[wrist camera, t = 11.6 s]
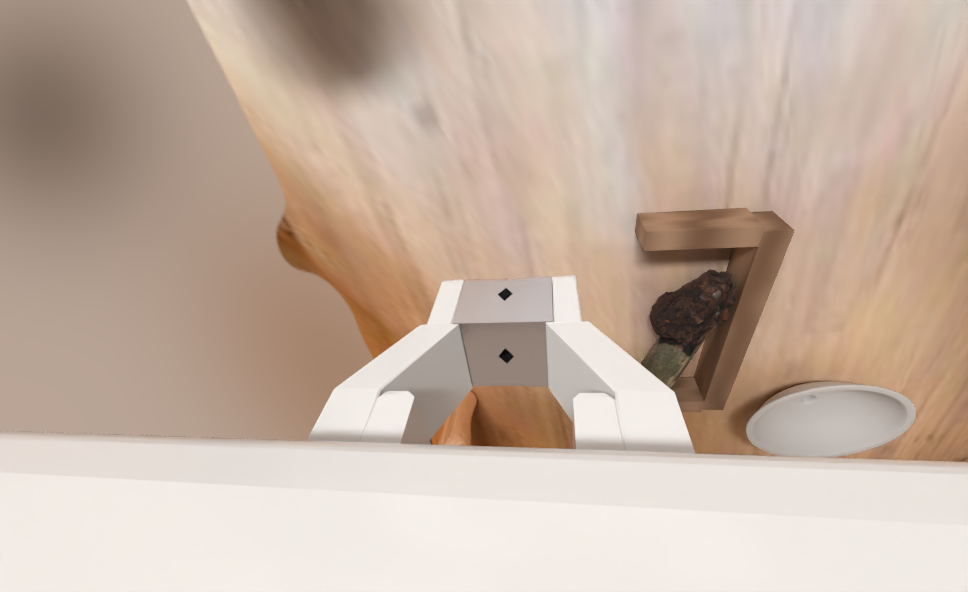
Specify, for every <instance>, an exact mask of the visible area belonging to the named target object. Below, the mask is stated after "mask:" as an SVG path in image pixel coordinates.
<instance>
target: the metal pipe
mask: <svg viewBox="0 0 968 592" xmlns="http://www.w3.org/2000/svg"><path fill="white" fill-rule="evenodd" d="M731 276H732V274H731V273H728V272H720V273H718V272H716V271H715V270H708V271H707V272H705V273H703V274H702V275H701V276H700V277H699V278H697V279H695V280H693V281H692V282H690V283H687V284H685V285H684V286H682V287H681V288H680V289H679V290H677V291H675V292H670V293H668V292H666V293H664V294H663V295H662V296H660V297H659V298H658V300H657V303H655V304H654V305H653V307H652V311H651V314H650V320H651V323H652V326H653V328H654V330H655V332H656V333H657V334H659V335H661V337H660V338H659V339H658V341H657V343H656V344H655V346H654V347H653V348H652V350H651V351H650V353H649V354H648V355H647V357H646V358H645V360H644V361H643V363H642V364H641V365H642V366H643V367H645V368H646V369H647V370H648V371H649V372H651V373H652V374H653V375H654V376H655V377H657V378H658V379H659V380H660V381H661V382H663V383H664V384H665V385H666V386H668V387H669V388H670V389H671V388H672V387H673V385H674V384H675V382H676V381H677V379H678V378H679V376H680V375H681V374H682V372H683V371H684V369H685V367H686V366H687V365H688V363H689V362H690V360H691V359H692V357H693V356H694V354H695V353H696V351H697V350H698V349H699V347H700V346H701V344H702V343H703V341H704V340H705V338H706V337H707V336H708V335H710V334H711V333H712V332H713V331H714V329H716V328H717V326H718V325H719V324H721V323H722V322H723V320H727V319H728V316H729V315H730V314H729V312H728V311H729V310H730V308H731V307H730V306H728V305H729V304H733V303H734V301H735V297H734V294H735V291H736V289H737V286H734V288H733V283H732V281H731ZM732 288H733V289H732Z"/></svg>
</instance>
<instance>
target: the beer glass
mask: <svg viewBox="0 0 968 592" xmlns="http://www.w3.org/2000/svg"><path fill="white" fill-rule="evenodd" d="M476 404H477V398H476V396H475V394H474V393H473V392H472V391H470V392H469V393H468V394H467V396H466V397H465V398H464V399H463V400H462V402H461V403H460V404H459V405H458V406H457V408H456V409H455V410H454V411H453V413H452V414H451V415H450V416H449V417H448V419H447V420H446V421H445V422H444V423H443V425H442V426H441V427H440V428H439V429H438V431H437V432H436V433H435V434H434V436H433V437H432V438H431V439H430V442H431V444H432V445H462V446H472V439H471V420H472V415H473V412H474V410H475V407H476Z"/></svg>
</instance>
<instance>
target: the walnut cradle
mask: <svg viewBox="0 0 968 592" xmlns="http://www.w3.org/2000/svg"><path fill="white" fill-rule="evenodd" d="M794 231H795V230H793V229H792V228H791V227H790V226H789V225H788V224H787V223H785V222H784V221H783V220H782V219H781V218H780V217H778V216H777V215H776V214H775V213H774V212H773V211H769V212H750V211H748V210H747V209H746V208H735V209H716V210H697V211H678V212H659V213H640V214H637V220H636V228H635V233H636V235H637V237H638V240H639V242H640V244H641V246H642V249H643V251H658V250H684V249H710V248H733V251H732V255H731V258H730V261H729V264H728V268H727V271H726V272H728V273H731V274H732V276H731V281H732V283H733V288H734V286H737V289H736V291H735V294H734V297H735V301H734V303H733V304H729V305H728V306H730V307H731V308H730V310H729V311H728V312H729V314H730V315H729V316H728V319H727V320H723V322H722V323H721V324H719V325H718V326H717V328H716V329H714V331H713V332H712V333H711V334H710V335H708V336H707V337H706V339H705V343H704V346H703V349H702V352H701V356H700V359H699V362H698V366H697V369H696V372H695V375H694V377H679V378H678V379H677V381H676V382H675V384H674V385H673V387H672V388H671V390H672V391H674V392H675V395H676V398H677V401H678V404H679V407H680V410H681V412H701V410H723V409H724V406H725V404H726V401H727V398H728V396H729V393H730V391H731V388H732V386H733V383H734V381H735V378H736V376H737V373H738V371H739V368H740V366H741V363H742V361H743V358H744V356H745V353H746V351H747V348H748V346H749V343H750V341H751V338H752V336H753V333H754V331H755V328H756V326H757V323H758V321H759V318H760V316H761V313H762V311H763V308H764V306H765V303H766V301H767V298H768V296H769V293H770V291H771V288H772V286H773V283H774V281H775V278H776V276H777V273H778V271H779V268H780V266H781V263H782V261H783V258H784V256H785V253H786V251H787V248H788V246H789V243H790V241H791V238H792V236H793V233H794ZM733 288H732V289H733Z"/></svg>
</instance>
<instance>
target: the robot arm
mask: <svg viewBox="0 0 968 592" xmlns="http://www.w3.org/2000/svg"><path fill="white" fill-rule="evenodd" d="M508 385H510V386H541V387H549V390H550V391H551V392H552V394H553V395H554V397H555V398H556V399H557V401H558V402H559V404H560V405H561V407H562V408H563V409H564V411H565V412H566V414H567V415H568V416H569V418H570V419H571V421H572V422H573V427H572V449H554V448H524V447H493V446H462V445H432V444H431V442H430V439H431V438H432V437H433V436H434V434H435V433H436V432H437V431H438V429H439V428H440V427H441V426H442V425H443V423H444V422H445V421H446V420H447V419H448V417H449V416H450V415H451V414H452V413H453V411H454V410H455V409H456V408H457V406H458V405H459V404H460V403H461V402H462V400H463V399H464V398H465V397H466V396H467V394H468V393H469V392H470V391H471V390H472V386H508ZM0 592H968V462H950V461H919V460H889V459H858V458H827V457H797V456H767V455H737V454H706V453H695V451H694V448H693V445H692V442H691V439H690V436H689V433H688V430H687V427H686V425H685V422H684V419H683V416H682V413H681V410H680V407H679V404H678V401H677V398H676V395H675V392H674V391H672V390H671V389H670V388H669V387H668V386H666V385H665V384H664V383H663V382H661V381H660V380H659V379H658V378H657V377H655V376H654V375H653V374H652V373H651V372H649V371H648V370H647V369H646V368H645V367H643V366H642V365H641V364H640V363H639V362H637V361H636V360H635V359H634V358H633V357H631V356H630V355H629V354H628V353H626V352H625V351H624V350H623V349H622V348H620V347H619V346H618V345H617V344H616V343H614V342H613V341H612V340H611V339H610V338H608V337H607V336H606V335H605V334H604V333H602V332H601V331H600V330H599V329H598V328H596V327H595V326H594V325H593V324H591V323H590V322H582V317H581V309H580V302H579V294H578V286H577V279H576V276H575V275H565V276H552V277H540V278H523V279H468V280H464V279H463V280H445V281H443V282H442V283H441V286H440V289H439V291H438V294H437V297H436V300H435V303H434V306H433V308H432V311H431V314H430V317H429V320H428V323H427V325H420V326H418V327H417V328H416V329H414V330H413V331H412V332H410V333H409V334H408V335H406V336H405V337H404V338H402V339H401V340H400V341H398V342H397V343H395V344H394V345H393V346H391V347H390V348H389V349H387V350H386V351H385V352H383V353H382V354H381V355H379V356H378V357H377V358H375V359H374V360H373V361H371V362H370V363H368V364H367V365H366V366H364V367H363V368H362V369H360V370H359V371H358V372H357V373H355V374H354V375H352V376H351V377H350V378H348V379H347V380H345V381H344V382H343V383H341V384H340V385H339V386H337V387H336V388H335V389H334V390H333V392H332V394H331V396H330V398H329V400H328V402H327V403H326V405H325V407H324V409H323V411H322V413H321V415H320V417H319V418H318V420H317V422H316V424H315V426H314V428H313V430H312V432H311V433H310V435H309V437H308V439H307V440H278V439H248V438H247V439H245V438H217V437H216V438H215V437H186V436H154V435H125V434H124V435H123V434H93V433H63V432H60V433H59V432H32V431H0Z"/></svg>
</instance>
